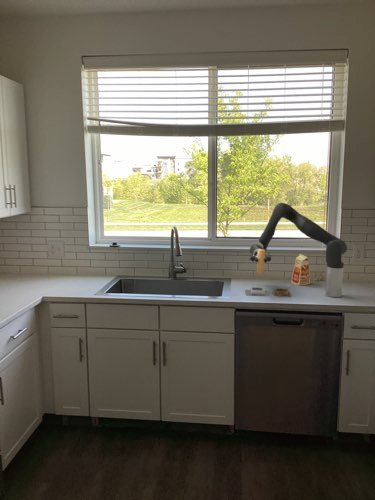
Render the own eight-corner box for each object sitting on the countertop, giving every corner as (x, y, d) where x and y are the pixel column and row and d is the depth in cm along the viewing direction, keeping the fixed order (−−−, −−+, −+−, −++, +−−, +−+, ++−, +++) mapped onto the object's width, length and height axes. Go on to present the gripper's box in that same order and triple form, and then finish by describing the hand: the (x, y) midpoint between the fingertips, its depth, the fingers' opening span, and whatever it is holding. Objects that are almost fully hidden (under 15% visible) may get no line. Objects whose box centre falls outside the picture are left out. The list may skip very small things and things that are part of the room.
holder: (288, 293, 250) (288, 288, 250) (291, 298, 241) (291, 292, 240) (271, 293, 251) (272, 287, 251) (273, 297, 242) (273, 292, 241)
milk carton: (290, 282, 279) (292, 253, 276) (301, 281, 283) (303, 252, 279) (299, 285, 271) (301, 255, 267) (311, 284, 274) (312, 254, 271)
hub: (267, 291, 255) (268, 286, 255) (270, 298, 241) (270, 292, 241) (244, 291, 257) (245, 285, 256) (245, 297, 243) (246, 291, 242)
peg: (264, 272, 248) (265, 249, 246) (263, 274, 244) (264, 250, 242) (257, 271, 250) (258, 249, 247) (256, 273, 246) (257, 250, 243)
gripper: (248, 249, 260) (249, 254, 243) (271, 249, 258) (274, 254, 242) (247, 260, 261) (248, 266, 244) (270, 261, 260) (273, 267, 243)
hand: (261, 260), depth 243 cm, fingers closed on peg, 4 cm apart
